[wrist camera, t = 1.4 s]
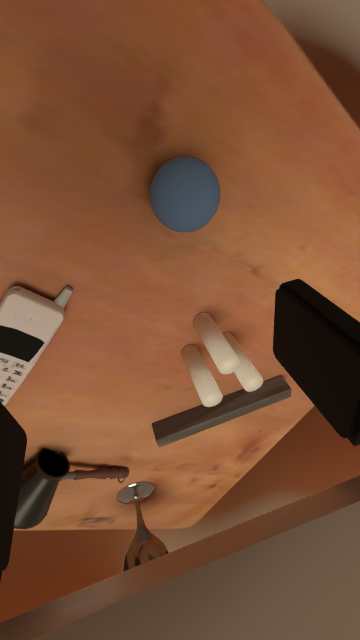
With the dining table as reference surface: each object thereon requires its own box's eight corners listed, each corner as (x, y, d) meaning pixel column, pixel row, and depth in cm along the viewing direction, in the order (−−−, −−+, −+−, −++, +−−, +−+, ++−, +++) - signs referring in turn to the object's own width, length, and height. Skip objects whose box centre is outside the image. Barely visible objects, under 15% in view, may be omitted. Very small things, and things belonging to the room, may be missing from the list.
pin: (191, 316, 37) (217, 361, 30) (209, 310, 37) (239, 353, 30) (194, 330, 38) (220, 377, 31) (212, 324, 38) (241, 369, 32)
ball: (136, 162, 26) (149, 173, 21) (200, 144, 26) (227, 150, 22) (153, 228, 29) (168, 250, 25) (209, 211, 30) (234, 229, 25)
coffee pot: (-7, 481, 43) (24, 438, 42) (97, 483, 55) (123, 450, 53) (-7, 533, 37) (29, 486, 36) (108, 524, 49) (138, 487, 48)
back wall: (151, 423, 46) (155, 440, 44) (280, 375, 48) (291, 388, 46) (155, 430, 47) (159, 447, 45) (280, 383, 49) (290, 396, 47)
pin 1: (179, 348, 39) (200, 396, 32) (196, 342, 39) (221, 388, 32) (183, 360, 40) (204, 409, 34) (199, 354, 41) (223, 402, 34)
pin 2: (214, 335, 40) (243, 380, 33) (231, 329, 40) (263, 373, 33) (217, 348, 41) (244, 394, 34) (233, 342, 41) (263, 387, 34)
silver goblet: (164, 482, 57) (187, 580, 45) (141, 505, 59) (158, 603, 47) (129, 478, 53) (144, 584, 41) (106, 503, 55) (114, 610, 43)
